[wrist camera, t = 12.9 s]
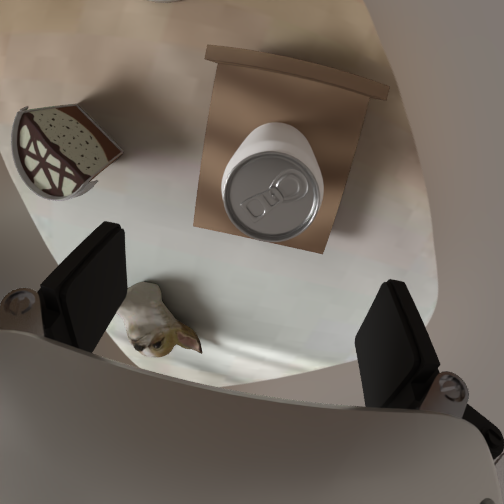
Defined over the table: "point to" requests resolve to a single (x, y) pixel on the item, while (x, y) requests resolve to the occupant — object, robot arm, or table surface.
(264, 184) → the can
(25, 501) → the robot arm
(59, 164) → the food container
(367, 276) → the table surface
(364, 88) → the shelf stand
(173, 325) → the ceramic sculpture
